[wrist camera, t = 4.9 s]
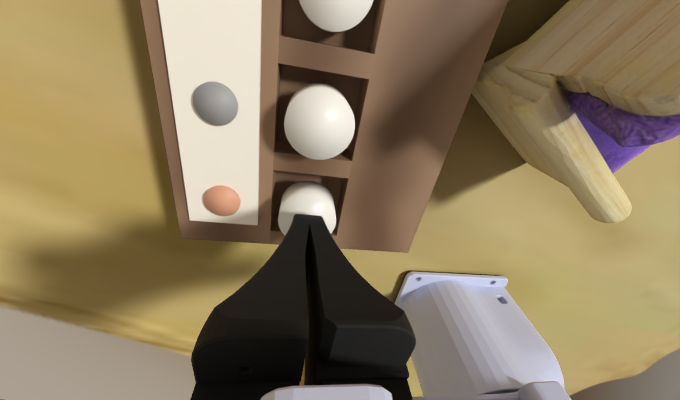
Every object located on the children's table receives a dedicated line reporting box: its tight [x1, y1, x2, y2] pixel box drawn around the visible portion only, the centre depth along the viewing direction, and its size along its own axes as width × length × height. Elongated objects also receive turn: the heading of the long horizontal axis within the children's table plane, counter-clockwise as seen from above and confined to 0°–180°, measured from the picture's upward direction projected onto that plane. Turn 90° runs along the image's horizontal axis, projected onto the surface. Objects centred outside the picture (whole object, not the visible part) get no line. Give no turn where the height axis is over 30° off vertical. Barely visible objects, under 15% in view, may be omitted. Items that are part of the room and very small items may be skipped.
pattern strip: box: [158, 0, 262, 225], centre depth 12 cm, size 4×13×1 cm, turn 170°
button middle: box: [284, 83, 355, 160], centre depth 12 cm, size 3×3×2 cm
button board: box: [140, 0, 508, 253], centre depth 14 cm, size 14×16×2 cm
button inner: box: [278, 181, 336, 235], centre depth 15 cm, size 3×3×2 cm
